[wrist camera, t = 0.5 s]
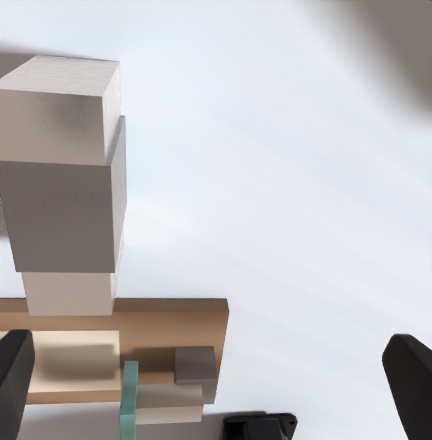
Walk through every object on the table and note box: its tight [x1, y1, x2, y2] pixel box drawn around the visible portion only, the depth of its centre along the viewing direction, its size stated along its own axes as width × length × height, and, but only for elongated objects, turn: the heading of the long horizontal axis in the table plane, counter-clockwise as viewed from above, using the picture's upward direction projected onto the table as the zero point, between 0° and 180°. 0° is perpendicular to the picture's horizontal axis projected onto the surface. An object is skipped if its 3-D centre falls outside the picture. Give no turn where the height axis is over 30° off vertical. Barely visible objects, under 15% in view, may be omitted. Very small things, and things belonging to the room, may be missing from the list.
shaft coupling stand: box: [0, 299, 229, 440], centre depth 24 cm, size 9×26×6 cm, turn 84°
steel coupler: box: [0, 55, 126, 316], centre depth 18 cm, size 10×4×6 cm, turn 174°
